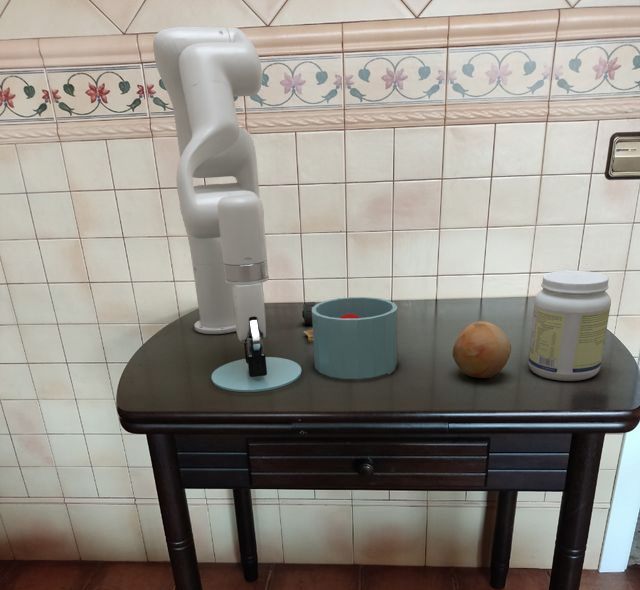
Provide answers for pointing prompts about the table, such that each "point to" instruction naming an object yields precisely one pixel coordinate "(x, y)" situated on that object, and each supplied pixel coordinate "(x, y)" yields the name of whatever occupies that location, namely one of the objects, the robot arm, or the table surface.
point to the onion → (481, 350)
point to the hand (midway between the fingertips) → (256, 368)
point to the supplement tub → (569, 325)
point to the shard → (309, 335)
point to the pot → (355, 337)
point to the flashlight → (308, 312)
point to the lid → (239, 380)
